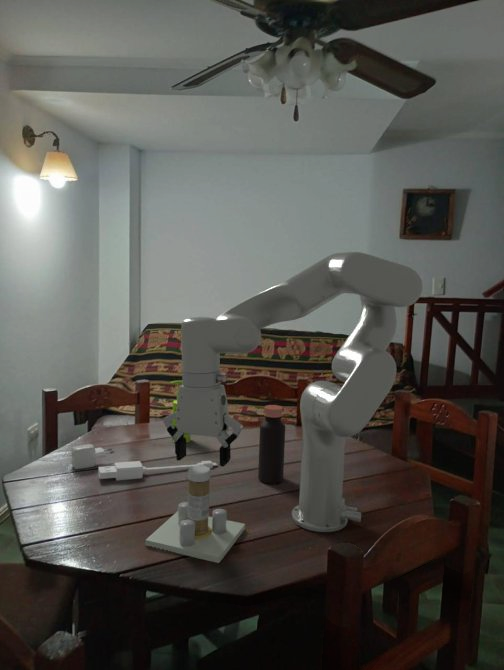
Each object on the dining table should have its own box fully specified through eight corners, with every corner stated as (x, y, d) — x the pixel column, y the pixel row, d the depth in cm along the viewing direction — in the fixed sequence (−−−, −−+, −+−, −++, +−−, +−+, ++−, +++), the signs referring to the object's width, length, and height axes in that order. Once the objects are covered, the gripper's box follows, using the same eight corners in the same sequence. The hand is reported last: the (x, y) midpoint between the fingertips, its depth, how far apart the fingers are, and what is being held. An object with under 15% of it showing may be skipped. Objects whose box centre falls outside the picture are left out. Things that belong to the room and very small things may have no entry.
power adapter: (110, 459, 146) (110, 439, 145) (115, 464, 142) (115, 444, 141) (70, 465, 140) (70, 445, 140) (74, 471, 136) (74, 450, 136)
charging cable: (218, 473, 141) (219, 461, 141) (99, 482, 129) (100, 470, 129) (213, 466, 146) (214, 455, 146) (97, 475, 134) (98, 463, 133)
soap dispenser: (167, 438, 166) (168, 379, 164) (188, 437, 168) (189, 378, 166) (170, 444, 160) (171, 383, 158) (191, 442, 163) (193, 382, 160)
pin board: (244, 529, 108) (245, 506, 107) (218, 563, 95) (219, 537, 94) (178, 515, 113) (178, 493, 113) (145, 545, 100) (145, 520, 100)
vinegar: (287, 478, 136) (290, 406, 134) (274, 486, 131) (278, 412, 128) (266, 472, 140) (269, 402, 138) (253, 480, 134) (255, 407, 132)
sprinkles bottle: (200, 523, 107) (202, 462, 105) (212, 532, 104) (215, 469, 102) (182, 529, 104) (183, 467, 103) (194, 538, 101) (196, 475, 99)
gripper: (248, 378, 101) (248, 459, 103) (172, 372, 107) (173, 450, 109) (234, 386, 94) (235, 473, 96) (153, 380, 100) (156, 462, 102)
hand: (202, 461), depth 102 cm, fingers open, 9 cm apart
